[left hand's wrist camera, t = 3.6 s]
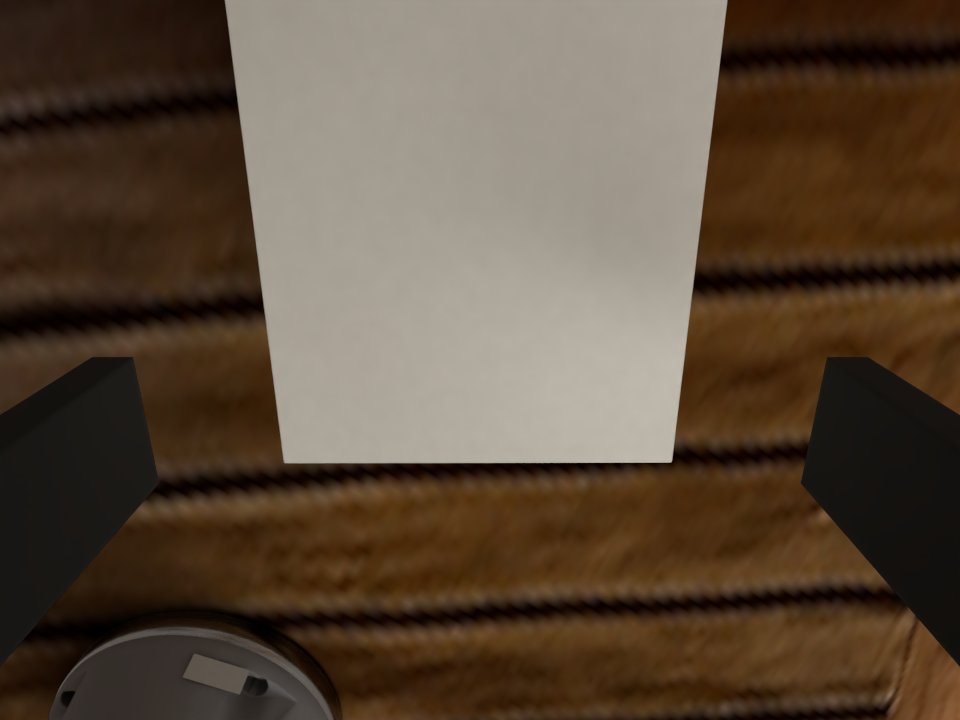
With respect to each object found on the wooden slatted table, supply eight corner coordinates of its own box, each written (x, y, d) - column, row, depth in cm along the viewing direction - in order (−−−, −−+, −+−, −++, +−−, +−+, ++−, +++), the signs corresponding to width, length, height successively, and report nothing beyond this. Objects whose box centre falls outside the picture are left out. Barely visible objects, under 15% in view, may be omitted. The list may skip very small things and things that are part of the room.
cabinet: (304, -248, 21) (151, -566, 11) (648, -250, 21) (796, -568, 11) (351, 343, 28) (283, 463, 19) (605, 342, 28) (672, 463, 19)
